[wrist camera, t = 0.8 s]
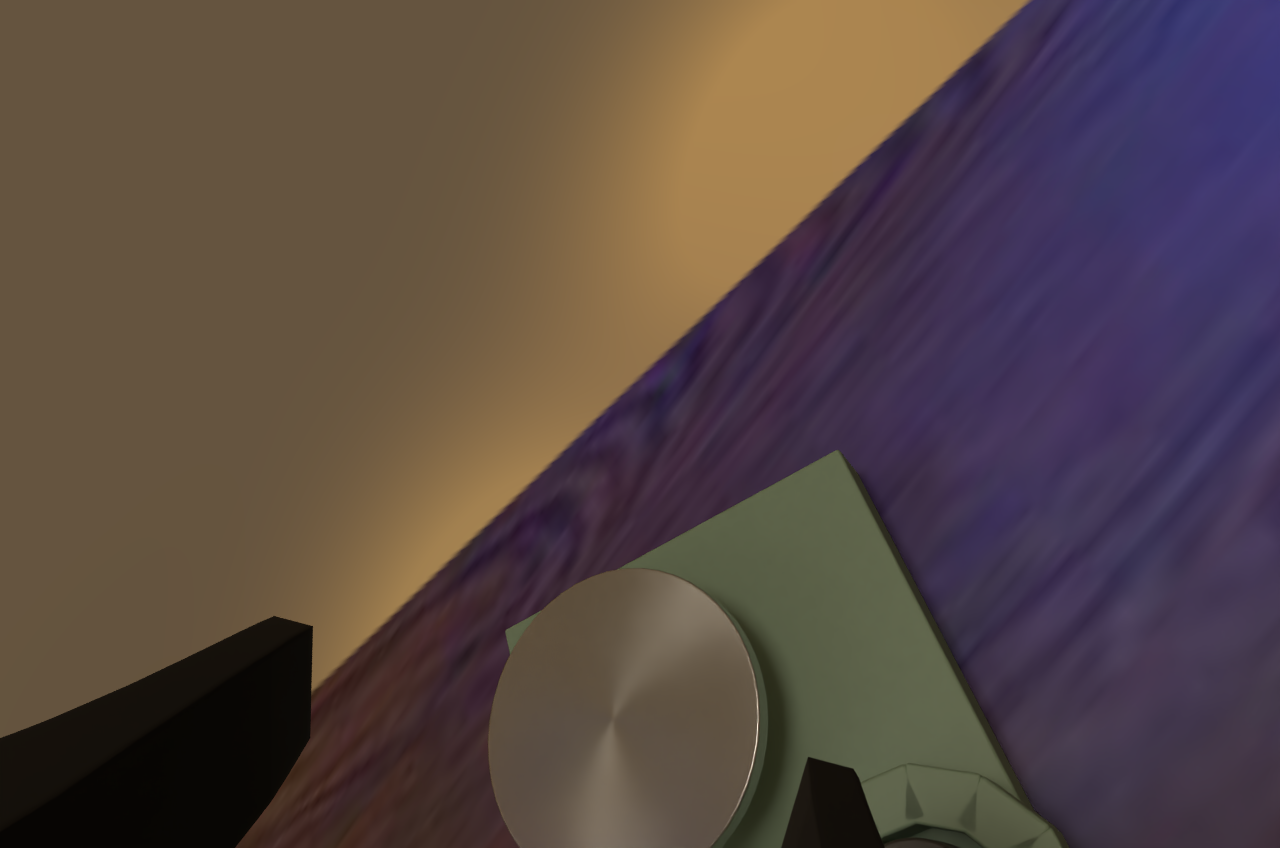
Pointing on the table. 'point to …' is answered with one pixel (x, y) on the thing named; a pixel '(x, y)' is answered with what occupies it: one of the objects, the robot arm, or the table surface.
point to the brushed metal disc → (628, 719)
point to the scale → (850, 667)
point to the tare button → (917, 843)
